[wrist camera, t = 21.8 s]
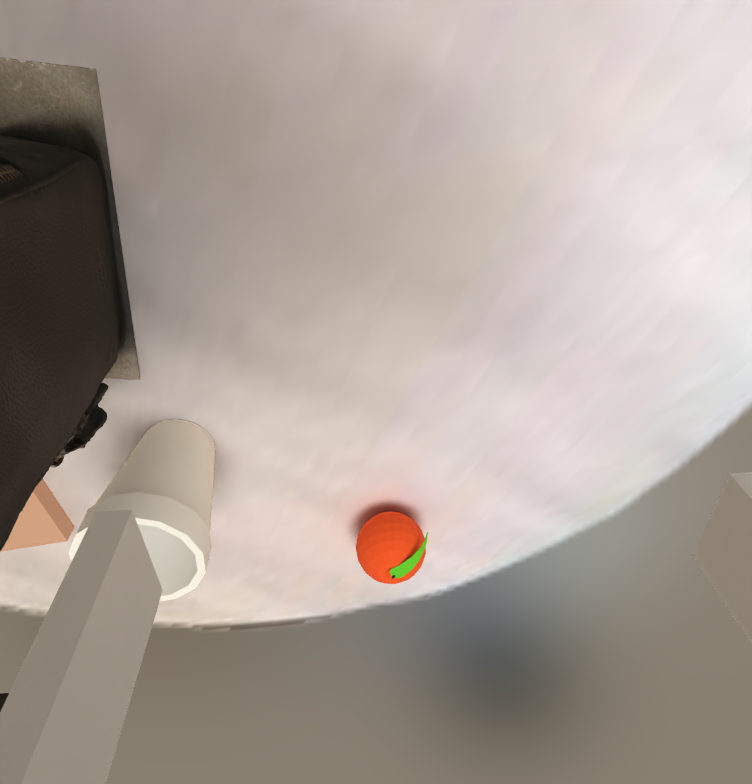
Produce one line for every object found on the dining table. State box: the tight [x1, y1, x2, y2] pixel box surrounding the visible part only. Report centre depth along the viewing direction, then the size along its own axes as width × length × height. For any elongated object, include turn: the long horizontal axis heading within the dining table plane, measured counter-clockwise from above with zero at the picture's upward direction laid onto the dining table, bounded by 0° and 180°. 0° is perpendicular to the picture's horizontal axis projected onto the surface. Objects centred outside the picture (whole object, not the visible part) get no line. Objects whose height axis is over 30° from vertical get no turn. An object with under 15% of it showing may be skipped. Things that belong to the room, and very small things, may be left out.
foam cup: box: [68, 419, 215, 601], centre depth 46 cm, size 10×9×13 cm
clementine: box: [356, 511, 428, 584], centre depth 55 cm, size 8×7×7 cm
